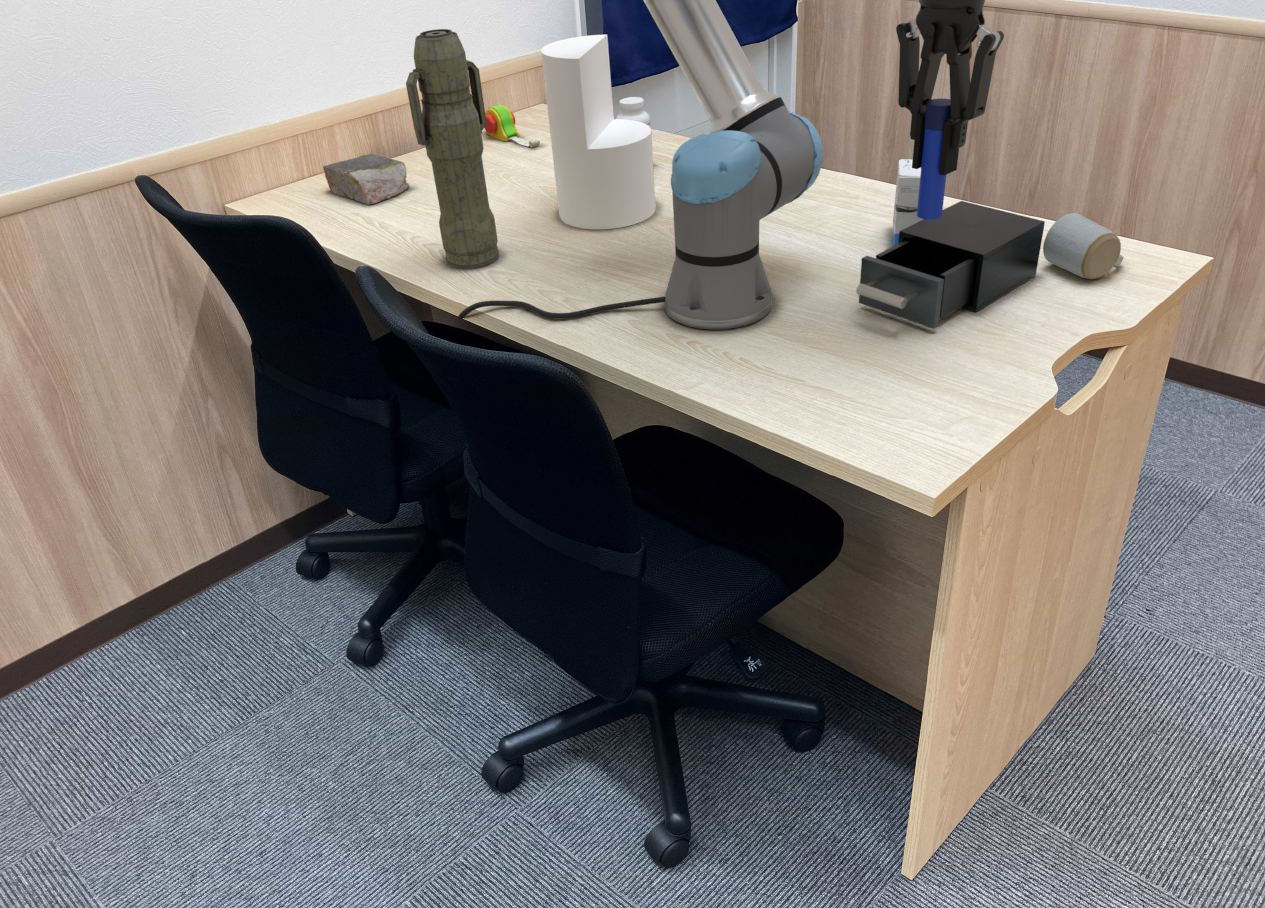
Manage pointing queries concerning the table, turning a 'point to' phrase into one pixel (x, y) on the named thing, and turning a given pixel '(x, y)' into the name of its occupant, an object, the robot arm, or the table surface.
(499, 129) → the toy measuring tape
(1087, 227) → the ceramic mug
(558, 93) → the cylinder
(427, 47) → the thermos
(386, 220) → the table surface
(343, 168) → the geological specimen
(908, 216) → the ink box
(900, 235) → the drawer unit
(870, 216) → the table surface
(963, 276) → the drawer
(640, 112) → the supplement bottle
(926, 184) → the marker
